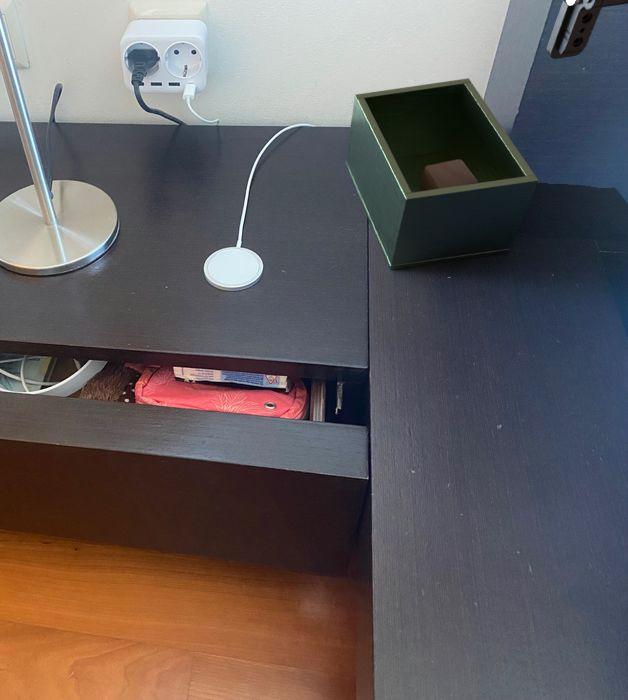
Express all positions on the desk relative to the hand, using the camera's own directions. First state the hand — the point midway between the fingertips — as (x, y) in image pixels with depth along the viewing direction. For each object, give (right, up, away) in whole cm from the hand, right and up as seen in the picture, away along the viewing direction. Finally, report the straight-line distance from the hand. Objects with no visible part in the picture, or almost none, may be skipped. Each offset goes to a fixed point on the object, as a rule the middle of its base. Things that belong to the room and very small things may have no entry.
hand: (534, 23), depth 51 cm
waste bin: (+3, -7, +30) cm, 31 cm away
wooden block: (+3, -11, +27) cm, 29 cm away
